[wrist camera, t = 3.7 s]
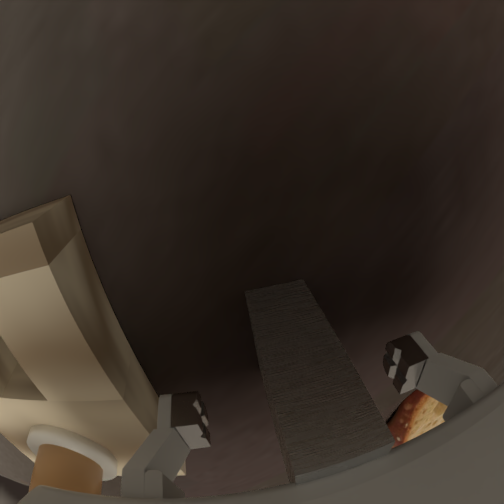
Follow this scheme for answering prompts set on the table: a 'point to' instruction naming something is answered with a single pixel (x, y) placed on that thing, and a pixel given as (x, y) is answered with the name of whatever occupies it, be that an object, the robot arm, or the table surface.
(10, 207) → the table surface
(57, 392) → the slot board
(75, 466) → the bobbin
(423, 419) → the slice of bread
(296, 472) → the metal tab
